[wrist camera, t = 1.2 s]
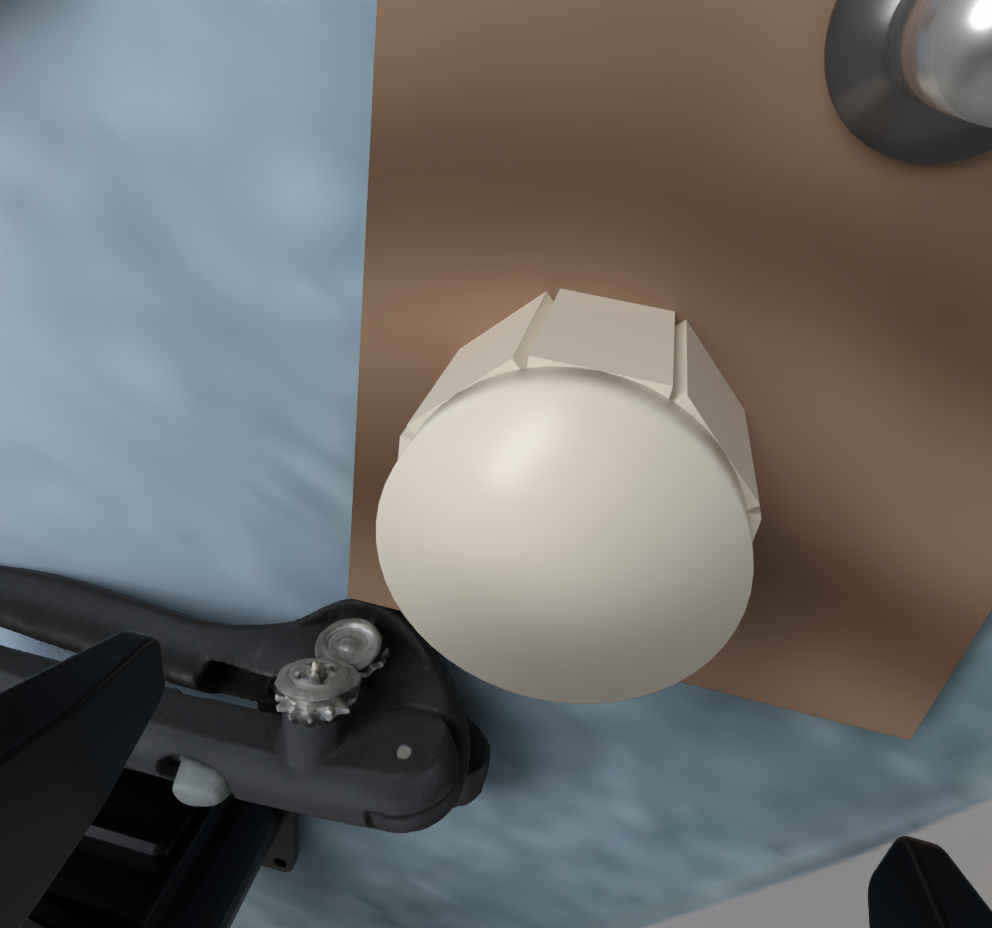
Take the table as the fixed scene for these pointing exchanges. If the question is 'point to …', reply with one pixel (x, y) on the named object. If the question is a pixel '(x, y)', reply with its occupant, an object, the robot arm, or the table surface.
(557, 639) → the cap
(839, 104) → the door knob
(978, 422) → the board
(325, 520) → the table surface
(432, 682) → the can opener
